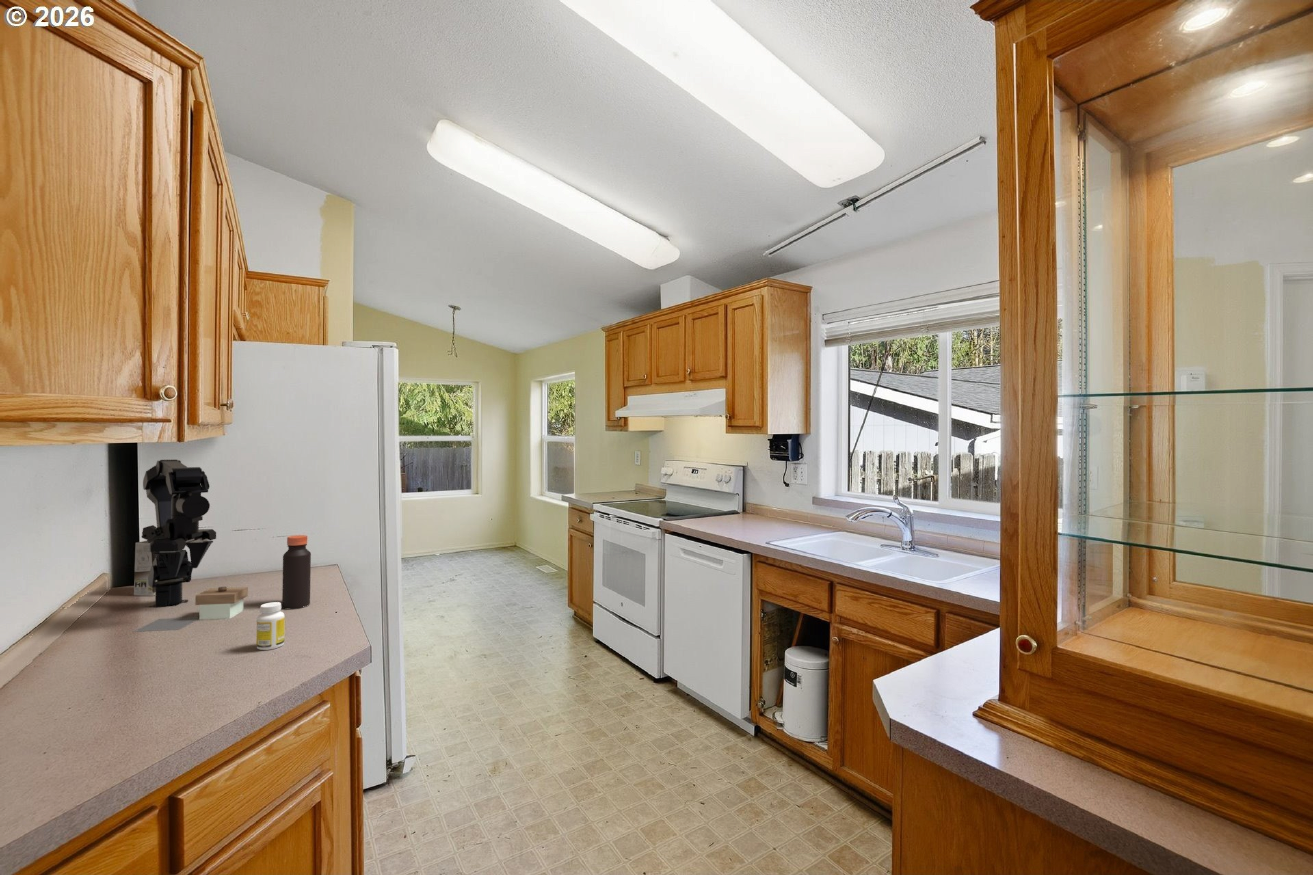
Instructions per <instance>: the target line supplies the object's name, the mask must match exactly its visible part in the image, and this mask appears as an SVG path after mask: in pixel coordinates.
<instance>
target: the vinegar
mask: <svg viewBox="0 0 1313 875" xmlns="http://www.w3.org/2000/svg"><path fill="white" fill-rule="evenodd" d="M286 545H287V546H286V547H287V548H288V549H287V551H285V553H284V554H283V555H282V589H281V590H282V592H281V594H282V595H281V597H282V598H281V600H282V601H281V602H282V603H281V608H283V609H285V608H297V609H302V608H304V607H303V606H306V607H308V606H309V605H310V604H311V568H312V567H311V563H312V562H311V561H312V560H311V559H312V558H311V557H312V554H311V551H309V549H307V546H308V535H306V534H305V535H304V534H302V535H301V534H298V535H297V534H295V535H290V536H287V538H286ZM307 605H308V606H307ZM301 607H302V608H301Z"/></svg>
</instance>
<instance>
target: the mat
mask: <svg viewBox="0 0 1313 875" xmlns="http://www.w3.org/2000/svg"><path fill="white" fill-rule="evenodd" d="M198 620H199V616H195V617H193V616H192V617H171V618H170V617H169V618H158V619H155V620H154V621H151V622H149V623H148V624H145V625H144V626H141V627H139V628H138V629H135V630H133V631H132V633H140V632H141V633H142V632H160V631H161V632H162V631H179V630H182V629H183V628H186V627H187V626H189V625H191V624H192V623H194V622H196V621H198Z"/></svg>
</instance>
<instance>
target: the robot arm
mask: <svg viewBox="0 0 1313 875" xmlns="http://www.w3.org/2000/svg"><path fill="white" fill-rule="evenodd" d="M142 488H143V490H144V491H145V493H146V498H147V499H148V500H149V501H150V502H152V503H153V504H154V510H155V520H156V525H154V524H153V525H152V524H151V525H149V526H145V527H143V528H142V532H141V538H142V539H143V540H145V541H148V543H151V542H152V543H151V544H150V552H153V553H154V554H157V557H156V558H155V560H154V561H153V566H151V569H150V573H149V576H148V585H149V586H150V587H152V588H153V587H156V593H155V596H154V597H155V602H154V603H155V604H154V603H153V604H152V605H149V608H166V607H167V608H169V607H176V606H179V605H181V604H185V603H187V602H189V599H183V584H185V583H190V582H191V581H192V574H193V570H194V569H197V568H198V567H199V565H200V563H201V562H202V560H203V558H204V556H205V554H206V553H207V551H209V550H208V549H209V548H210V546H211V545H212V544H213V543H214V540H216V539H217V532H216V531H215V530H214V529H213V528H207V529H204V528H202V529H201V528H199V527H200V522H201V521H203V518H204V517H203V516H205V515H206V514H207V513H208V512H209V510H210V507H211V506H210V501H209V500H208V499H207V498H206V497H204V496H203V495H202V494H203V493H209V489H210V482H209V480H208V476H207V474H206V472H205V471H204V470H203V469H202V468H201V467H200V466H191V467H190V466H187V465H185V464H184V463H182V461H181V460H179V459H160V460H157V461H156V464H155V465H154V466H152V467H150V468H149V469H147V470H146V471H145V472H144V477H143V480H142ZM186 547H187V548H188V549H189V555H188V551H187V550H186V549H185V548H186ZM189 558H190V560H189ZM155 580H157V581H156V582H155Z"/></svg>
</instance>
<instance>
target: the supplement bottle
mask: <svg viewBox="0 0 1313 875" xmlns="http://www.w3.org/2000/svg"><path fill="white" fill-rule="evenodd" d="M281 610H282V603H281V602H279V601H277V602H276V601H275V602H274V601H273V602H267V603H263V604H261V605H260V613H261V614H259V615H258V616H257V618H256V649H257V650H260V651H268V650H274V649H278V648H281V647H283V645H284V644H285V629H286V628H285V626H286V624H285V623H286V622H285V616H286V615H285V613H284V612H283V611H281Z"/></svg>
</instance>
